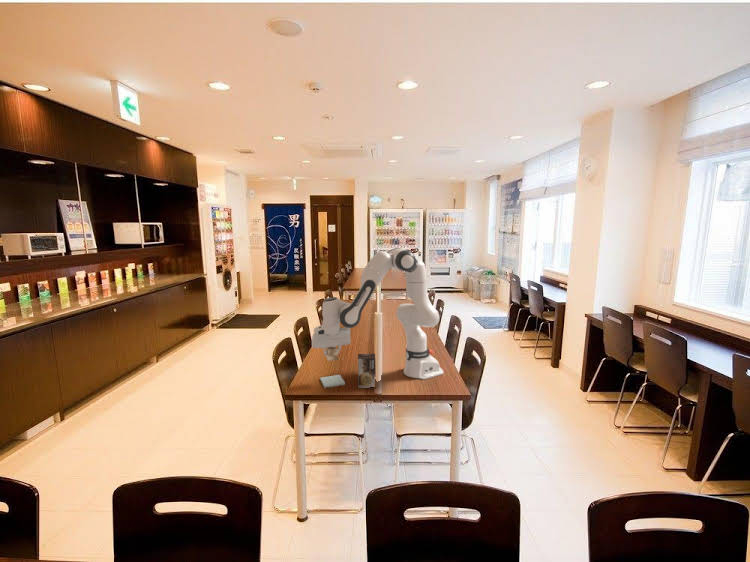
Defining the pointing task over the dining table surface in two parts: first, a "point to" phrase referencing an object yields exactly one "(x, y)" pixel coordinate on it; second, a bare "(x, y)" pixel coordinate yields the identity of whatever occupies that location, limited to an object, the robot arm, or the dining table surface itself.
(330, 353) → the ash block
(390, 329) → the dining table surface
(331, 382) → the tile
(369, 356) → the coffee box
